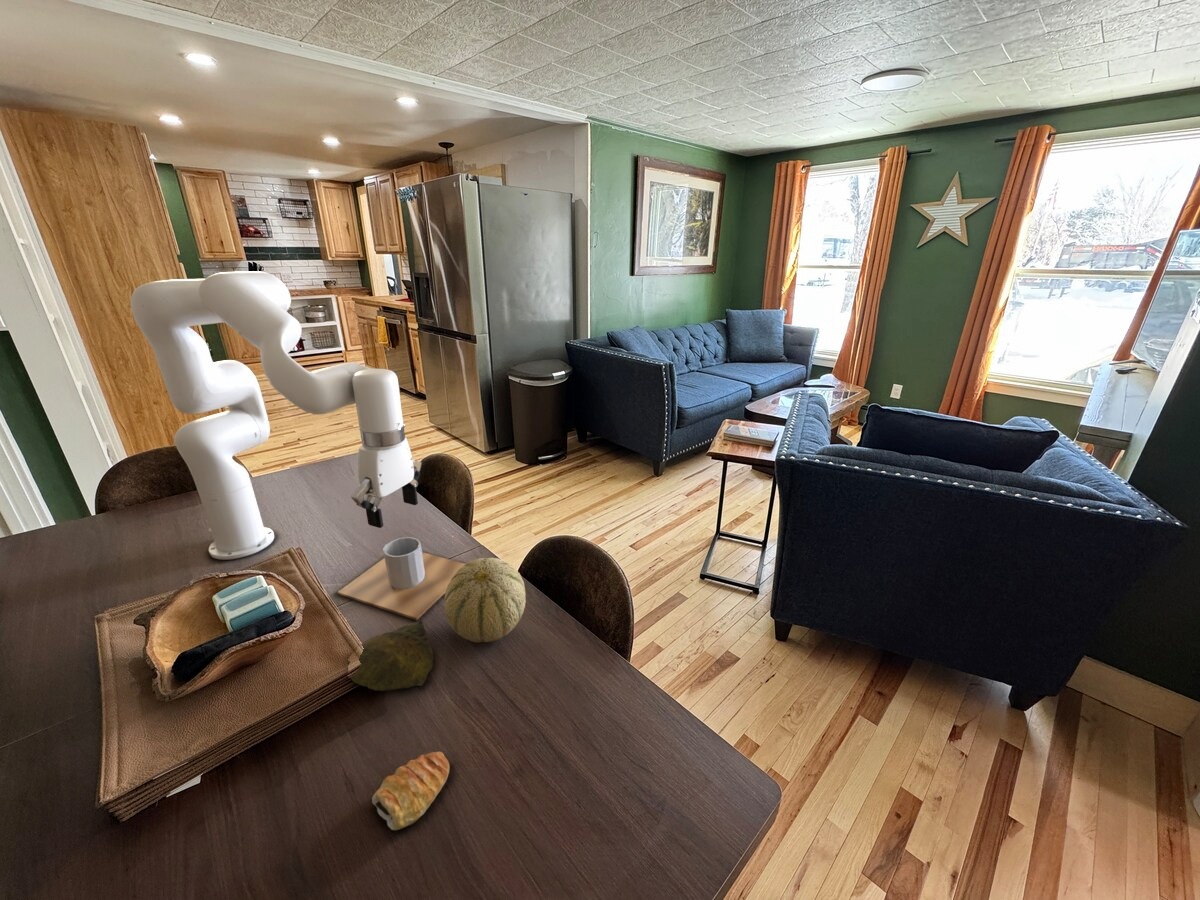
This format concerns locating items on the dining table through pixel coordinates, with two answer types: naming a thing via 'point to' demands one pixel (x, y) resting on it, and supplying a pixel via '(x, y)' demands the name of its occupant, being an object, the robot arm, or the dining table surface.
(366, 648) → the pottery fragment
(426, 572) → the board
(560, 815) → the dining table surface
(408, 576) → the pot
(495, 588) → the cantaloupe
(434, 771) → the pastry
